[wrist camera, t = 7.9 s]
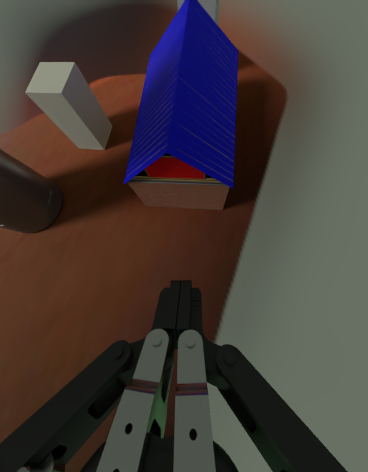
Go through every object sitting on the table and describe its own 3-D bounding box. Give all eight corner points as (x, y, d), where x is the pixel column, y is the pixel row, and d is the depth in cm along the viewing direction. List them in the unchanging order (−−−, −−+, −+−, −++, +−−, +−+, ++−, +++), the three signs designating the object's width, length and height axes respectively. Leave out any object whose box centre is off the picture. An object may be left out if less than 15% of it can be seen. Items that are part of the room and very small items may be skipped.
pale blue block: (184, 80, 30) (177, 0, 21) (188, 60, 31) (183, -24, 22) (211, 80, 29) (216, -3, 21) (215, 60, 30) (221, -27, 22)
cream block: (78, 148, 29) (25, 92, 20) (87, 124, 30) (40, 62, 21) (104, 150, 28) (61, 93, 19) (112, 126, 29) (74, 62, 20)
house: (143, 208, 25) (95, 151, 14) (161, 104, 29) (136, -3, 18) (224, 212, 23) (245, 153, 12) (229, 102, 28) (249, -15, 17)
